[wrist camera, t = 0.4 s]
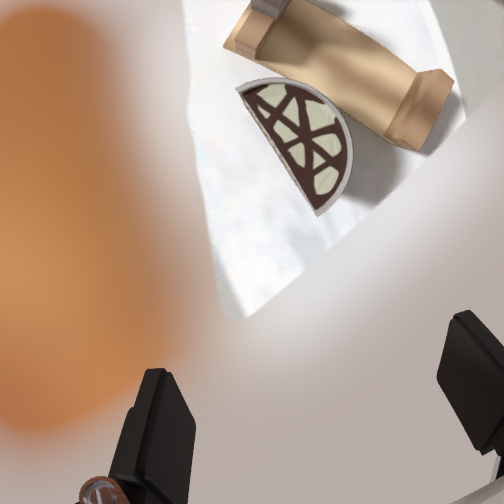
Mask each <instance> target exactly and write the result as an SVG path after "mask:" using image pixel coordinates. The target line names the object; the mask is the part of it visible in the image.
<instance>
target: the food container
mask: <svg viewBox="0 0 504 504" xmlns="http://www.w3.org/2000/svg"><path fill="white" fill-rule="evenodd" d="M235 89H236V90H237V91H238V93H239V95H240V97H241V99H242V101H243V103H244V105H245V107H246V109H247V110H248V111H249V113H250V114H251V116H252V117H253V119H254V120H255V122H256V123H257V125H258V126H259V128H260V129H261V131H262V133H263V134H264V136H265V137H266V139H267V140H268V142H269V143H270V145H271V146H272V148H273V150H274V151H275V153H276V154H277V156H278V157H279V159H280V161H281V162H282V164H283V165H284V167H285V169H286V170H287V172H288V173H289V175H290V177H291V178H292V180H293V182H294V183H295V184H296V186H297V187H298V189H299V190H300V192H301V193H302V195H303V196H304V198H305V199H306V201H307V202H308V204H309V205H310V207H311V208H312V210H313V211H314V213H315V215H316V216H317V217H318V216H320V215H321V214H322V213H324V212H325V211H326V210H328V209H329V208H330V207H331V206H332V205H333V204H334V203H335V202H336V200H337V199H338V198H339V196H340V195H341V194H342V192H343V190H344V188H345V187H346V185H347V182H348V180H349V177H350V174H351V170H352V165H353V153H354V150H353V141H352V137H351V133H350V129H349V127H348V125H347V122H346V120H345V118H344V116H343V115H342V113H341V112H340V110H339V109H338V108H337V106H336V105H335V104H334V103H333V102H332V101H331V100H330V99H329V98H328V97H327V96H325V95H324V94H323V93H321V92H320V91H319V90H317V89H315V88H313V87H312V86H310V85H308V84H306V83H303V82H300V81H297V80H293V79H287V78H263V79H257V80H254V81H251V82H248V83H245V84H243V85H241V86H239V87H237V88H235Z"/></svg>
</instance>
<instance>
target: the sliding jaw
mask: <svg viewBox="0 0 504 504" xmlns="http://www.w3.org/2000/svg"><path fill="white" fill-rule="evenodd" d="M290 2H291V0H251V9H253V10H252V11H251V13H250V15H249V16H248V18H247V19H246V21H245V22H244V24H243V25H242V27H241V29H240V30H239V32H238V33H237V35H236V37H235V38H234V41H235V47H236V51H237V52H240V53H242V54H244V55H246V56H248V57H250V58H253V59H255V57H256V56H257V54H258V52H259V51H260V49H261V47H262V46H263V44H264V43H265V41H266V39H267V38H268V36H269V34H270V33H271V31H272V30H273V28H274V26H275V25H276V23H277V22H278V20H279V19H280V17H281V16H282V14H283V12H284V11H285V9H286V8H287V6H288V5H289V3H290Z"/></svg>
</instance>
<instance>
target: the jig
mask: <svg viewBox="0 0 504 504" xmlns="http://www.w3.org/2000/svg"><path fill="white" fill-rule="evenodd" d="M252 10H253V9H251V2H250V4H249V5H248V7H247V8H246V10H245V11H244V13H243V14H242V16H241V17H240V19H239V21H238V22H237V24H236V25H235V27H234V28H233V30H232V32H231V33H230V35H229V37H228V38H227V40H226V42H225V43H224V45H223V48H225V49H227V50H230V51H232V52H234V53H236V54H239V55H241V56H243V57H245V58H247V59H250V60H252V61H254V62H256V63H258V64H260V65H262V66H264V67H266V68H268V69H270V70H272V71H274V72H276V73H278V74H280V75H282V76H284V77H286V78H288V79H293V80H297V81H300V82H303V83H306V84H308V85H310V86H312V87H313V88H315V89H317V90H319V91H320V92H321V93H323V94H324V95H325V96H327V97H328V98H329V99H330V100H331V101H332V102H333V103H334V104H335V105H336V106H337V107H338V108H339V109H341V110H343V111H344V112H346V113H347V114H349V115H350V116H352V117H353V118H355V119H356V120H358V121H359V122H361V123H362V124H364V125H365V126H367V127H368V128H370V129H371V130H373V131H374V132H376V133H377V134H378V135H380V136H381V137H383V138H384V139H385V140H387V141H388V142H390V143H391V144H392V145H395V146H399V147H403V148H407V149H411V150H415V151H418V152H419V151H420V149H421V147H422V145H423V143H424V141H425V140H426V138H427V136H428V134H429V132H430V130H431V128H432V126H433V124H434V122H435V121H436V119H437V117H438V115H439V113H440V111H441V109H442V107H443V105H444V103H445V101H446V99H447V97H448V95H449V92H450V90H451V88H452V86H453V84H454V82H455V81H454V80H453V79H452V78H451V77H450V76H449V75H447V74H446V73H445V72H444V71H443V70H442V69H436V70H430V71H424V72H419V73H417V72H416V71H414V70H413V69H412V68H411V67H409V66H408V65H407V64H406V63H404V62H403V61H402V60H400V59H399V58H398V57H396V56H395V55H394V54H392V53H391V52H390V51H388V50H387V49H386V48H384V47H383V46H381V45H380V44H378V43H377V42H376V41H374V40H373V39H371V38H370V37H368V36H367V35H365V34H364V33H362V32H360V31H359V30H357V29H356V28H354V27H353V26H351V25H349V24H348V23H346V22H344V21H343V20H341V19H339V18H338V17H336V16H334V15H332V14H331V13H329V12H327V11H325V10H323V9H322V8H320V7H318V6H316V5H314V4H312V3H310V2H308V1H306V0H291V2H290V3H289V5H288V6H287V8H286V9H285V11H284V12H283V14H282V16H281V17H280V19H279V20H278V22H277V23H276V25H275V26H274V28H273V30H272V31H271V33H270V34H269V36H268V38H267V39H266V41H265V43H264V44H263V46H262V47H261V49H260V51H259V52H258V54H257V56H256V57H255V59H253V58H250V57H248V56H246V55H244V54H242V53H240V52H237V51H236V47H235V41H234V38H235V37H236V35H237V33H238V32H239V30H240V29H241V27H242V25H243V24H244V22H245V21H246V19H247V18H248V16H249V15H250V13H251V11H252Z"/></svg>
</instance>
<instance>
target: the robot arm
mask: <svg viewBox="0 0 504 504" xmlns="http://www.w3.org/2000/svg"><path fill="white" fill-rule="evenodd" d="M437 381H438V384H439V385H440V387H441V389H442V390H443V392H444V394H445V395H446V397H447V399H448V401H449V402H450V404H451V406H452V408H453V409H454V411H455V413H456V415H457V416H458V418H459V420H460V422H461V424H462V425H463V427H464V429H465V431H466V433H467V435H468V437H469V439H470V440H471V442H472V444H473V446H474V448H475V449H476V450H479V451H480V452H481V454H482V456H483V455H485V454H487V453H488V452H490V451H492V450H494V449H495V451H496V453H497V457H496V461H495V465H494V469H493V473H492V476H491V480H490V483H489V484H488V485H486V486H484V487H482V488H481V489H479V490H477V491H475V492H473V493H471V494H469V495H467V496H465V497H463V498H461V499H459V500H457V501H455V502H453V503H451V504H504V346H503V345H502V344H501V343H500V342H499V340H498V339H497V338H496V337H495V336H494V335H493V334H492V333H491V332H490V331H489V329H488V328H487V327H486V326H485V325H484V324H483V323H482V322H481V321H480V320H479V319H478V317H476V315H475V314H474V313H473V312H472V311H470V310H466V311H463V312H460V313H457V314H455V315H454V316H453V319H452V320H451V321H450V323H449V328H448V333H447V337H446V341H445V345H444V349H443V353H442V357H441V361H440V364H439V368H438V371H437ZM195 433H196V424H195V420H194V418H193V416H192V414H191V412H190V410H189V408H188V406H187V404H186V402H185V400H184V398H183V396H182V394H181V392H180V390H179V388H178V386H177V384H176V381H175V379H174V377H173V375H172V373H171V372H167V371H166V370H165V369H164V368H155V369H147V370H146V371H145V374H144V377H143V380H142V383H141V386H140V389H139V392H138V395H137V398H136V401H135V404H134V407H131V408H130V409H129V411H128V413H127V416H126V419H125V422H124V425H123V428H122V431H121V435H120V438H119V441H118V444H117V448H116V451H115V454H114V458H113V461H112V464H111V468H110V471H109V475H108V477H106V476H97V477H94V478H91V479H89V480H88V481H86V482H85V483H84V485H83V486H82V487H81V490H80V492H79V502H77V503H75V504H187V503H188V493H189V484H190V476H191V467H192V457H193V450H194V441H195Z"/></svg>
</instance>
